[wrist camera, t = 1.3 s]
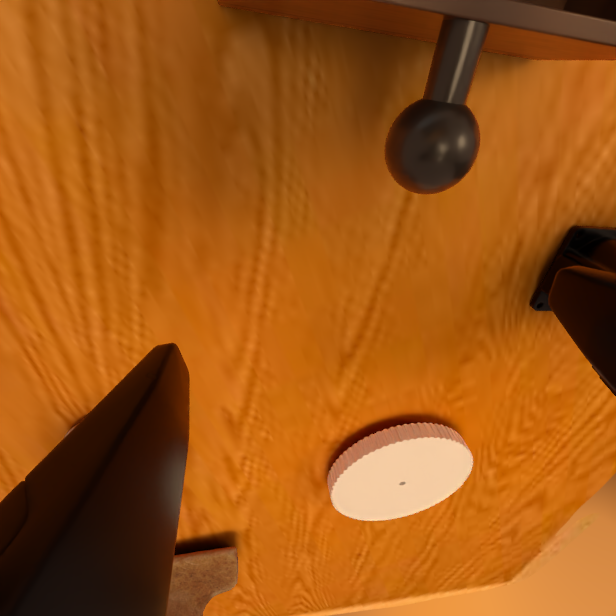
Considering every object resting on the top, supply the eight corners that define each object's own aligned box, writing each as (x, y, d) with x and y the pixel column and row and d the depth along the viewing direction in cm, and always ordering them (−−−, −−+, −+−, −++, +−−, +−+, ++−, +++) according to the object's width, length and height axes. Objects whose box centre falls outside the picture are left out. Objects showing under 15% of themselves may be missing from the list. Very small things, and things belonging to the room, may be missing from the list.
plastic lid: (297, 482, 36) (301, 507, 34) (392, 394, 31) (403, 419, 28) (394, 506, 42) (402, 529, 40) (486, 437, 37) (501, 459, 35)
